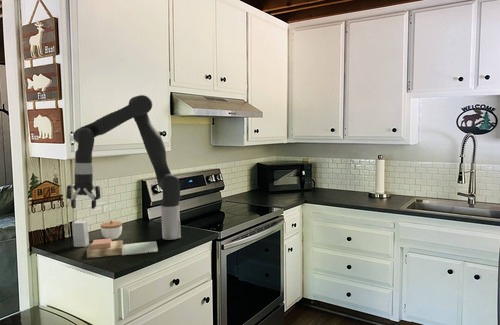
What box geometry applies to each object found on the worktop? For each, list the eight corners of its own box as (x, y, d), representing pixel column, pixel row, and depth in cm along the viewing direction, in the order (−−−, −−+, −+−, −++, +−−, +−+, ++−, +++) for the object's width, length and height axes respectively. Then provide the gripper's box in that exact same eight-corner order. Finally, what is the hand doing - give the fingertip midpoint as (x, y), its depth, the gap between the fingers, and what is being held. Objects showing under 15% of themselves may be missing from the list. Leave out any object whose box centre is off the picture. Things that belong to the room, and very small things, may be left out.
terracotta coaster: (111, 242, 189) (111, 238, 189) (110, 247, 182) (110, 242, 182) (93, 244, 187) (93, 239, 187) (91, 249, 180) (91, 244, 179)
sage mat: (156, 242, 199) (156, 241, 199) (157, 251, 184) (157, 250, 184) (123, 245, 195) (123, 244, 195) (121, 255, 180) (121, 254, 179)
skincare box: (89, 244, 198) (88, 220, 197) (85, 247, 193) (83, 223, 192) (77, 244, 198) (76, 220, 197) (73, 247, 194) (71, 223, 193)
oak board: (123, 246, 193) (122, 240, 193) (122, 254, 181) (121, 248, 181) (90, 249, 189) (89, 243, 189) (86, 258, 177) (86, 251, 177)
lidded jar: (124, 234, 214) (123, 217, 213) (121, 240, 204) (120, 222, 203) (103, 236, 213) (102, 219, 212) (99, 241, 202) (98, 223, 201)
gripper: (102, 172, 181) (102, 207, 182) (71, 171, 181) (71, 206, 182) (96, 173, 174) (96, 210, 175) (63, 173, 173) (64, 209, 174)
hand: (83, 208), depth 178 cm, fingers open, 8 cm apart
